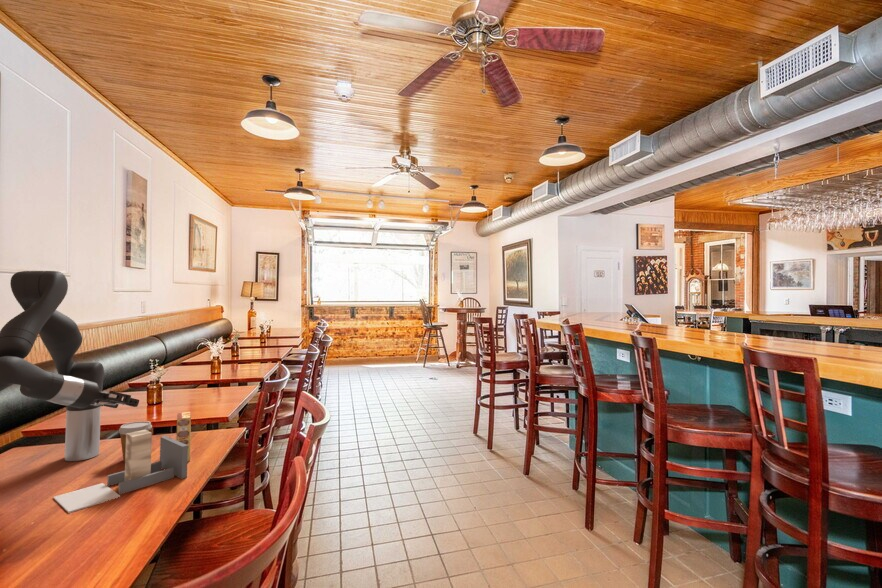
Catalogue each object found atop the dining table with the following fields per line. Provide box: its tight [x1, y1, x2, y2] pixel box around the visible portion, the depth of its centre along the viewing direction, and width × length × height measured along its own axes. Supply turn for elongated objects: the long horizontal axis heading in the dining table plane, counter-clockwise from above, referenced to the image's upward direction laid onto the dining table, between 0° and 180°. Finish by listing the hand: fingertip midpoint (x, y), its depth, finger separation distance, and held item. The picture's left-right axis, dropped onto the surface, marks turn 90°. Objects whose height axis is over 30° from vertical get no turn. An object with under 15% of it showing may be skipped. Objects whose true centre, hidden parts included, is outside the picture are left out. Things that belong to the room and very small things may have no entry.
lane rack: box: [106, 435, 188, 495], centre depth 126 cm, size 16×16×10 cm
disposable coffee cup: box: [118, 420, 153, 463], centre depth 143 cm, size 10×10×12 cm
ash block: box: [124, 430, 153, 481], centre depth 124 cm, size 5×5×15 cm
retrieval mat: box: [52, 482, 121, 514], centre depth 114 cm, size 14×11×1 cm
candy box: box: [175, 411, 192, 462], centre depth 144 cm, size 9×4×15 cm, turn 33°
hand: (127, 404), depth 126 cm, fingers open, 8 cm apart
